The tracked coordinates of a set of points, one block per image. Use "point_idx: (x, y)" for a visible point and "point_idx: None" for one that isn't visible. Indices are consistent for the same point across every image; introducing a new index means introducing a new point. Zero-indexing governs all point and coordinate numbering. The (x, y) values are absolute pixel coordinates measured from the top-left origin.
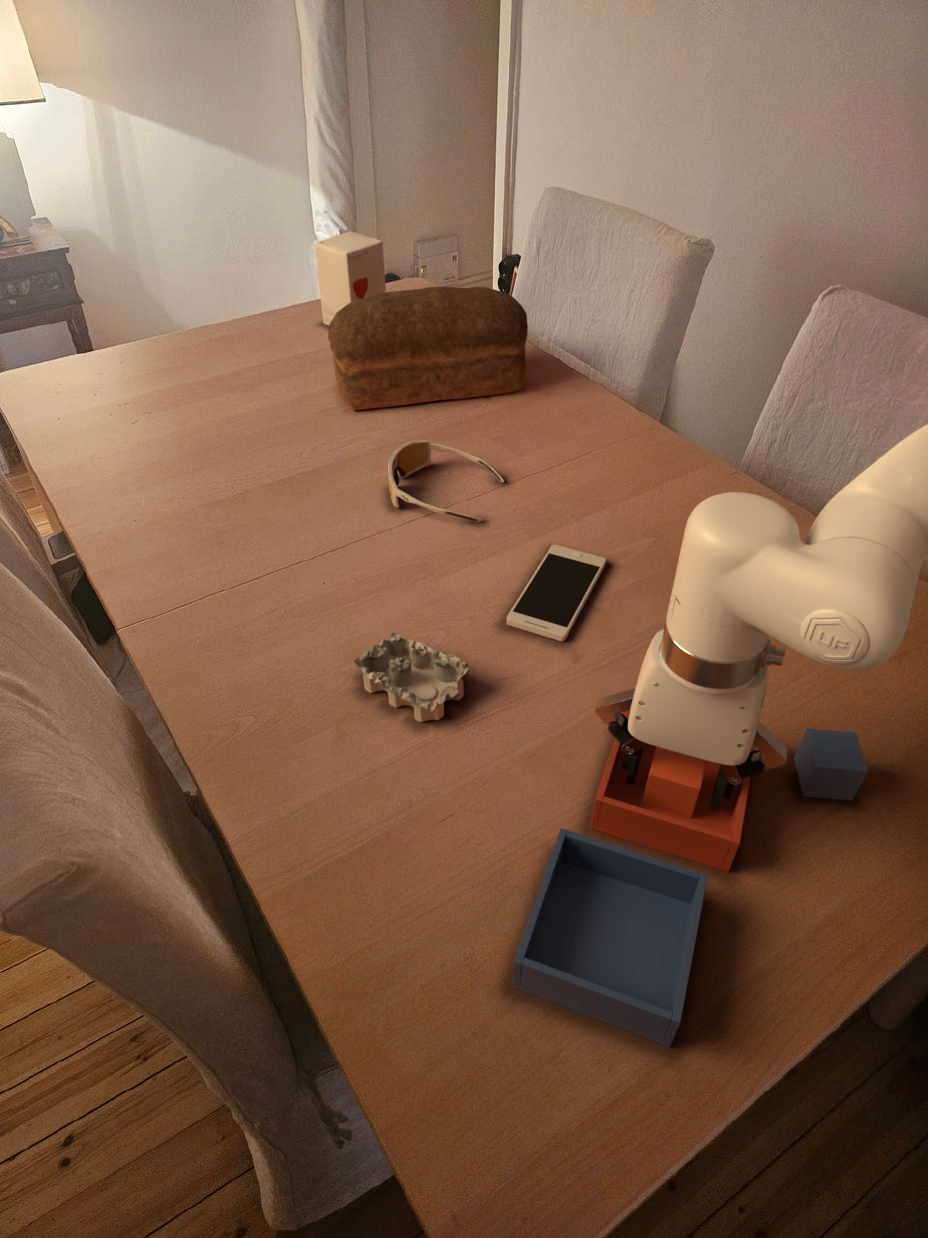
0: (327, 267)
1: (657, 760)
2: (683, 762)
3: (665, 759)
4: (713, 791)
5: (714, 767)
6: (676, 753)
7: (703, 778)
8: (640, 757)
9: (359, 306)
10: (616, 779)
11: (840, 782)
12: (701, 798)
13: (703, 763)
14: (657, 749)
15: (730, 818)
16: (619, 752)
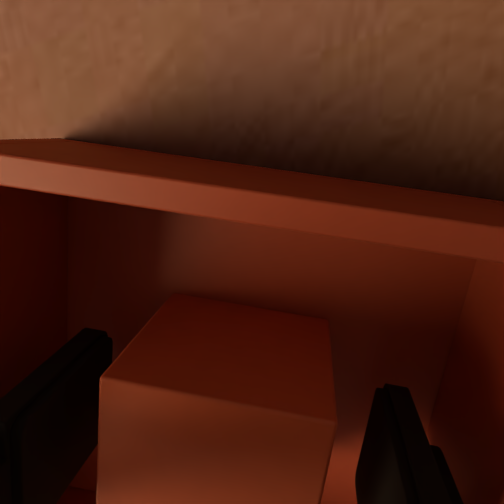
0: None
1: (112, 499)
2: (220, 500)
3: (144, 490)
4: (368, 423)
5: (383, 253)
6: (186, 456)
7: (342, 309)
8: (64, 437)
9: None
10: None
11: None
12: (334, 382)
13: (310, 497)
14: (102, 448)
15: None
16: (37, 313)
